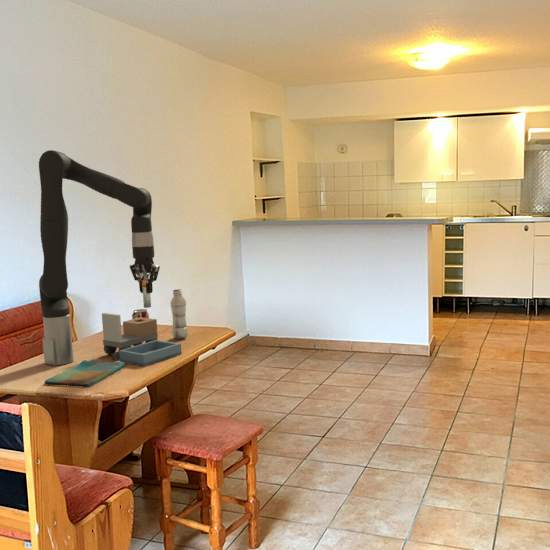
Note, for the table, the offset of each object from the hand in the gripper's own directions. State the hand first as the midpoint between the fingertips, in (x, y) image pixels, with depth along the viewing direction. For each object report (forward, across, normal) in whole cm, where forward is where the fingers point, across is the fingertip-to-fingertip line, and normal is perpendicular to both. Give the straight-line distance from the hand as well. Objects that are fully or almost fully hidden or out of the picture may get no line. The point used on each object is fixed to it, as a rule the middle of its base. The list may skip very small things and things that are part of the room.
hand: (146, 292), depth 228 cm
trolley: (+24, -14, +3) cm, 28 cm away
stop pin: (+5, 0, 0) cm, 5 cm away
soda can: (+24, -26, +19) cm, 40 cm away
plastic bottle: (+24, -12, +27) cm, 38 cm away
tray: (+24, 0, 0) cm, 24 cm away
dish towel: (+25, -3, -26) cm, 36 cm away
